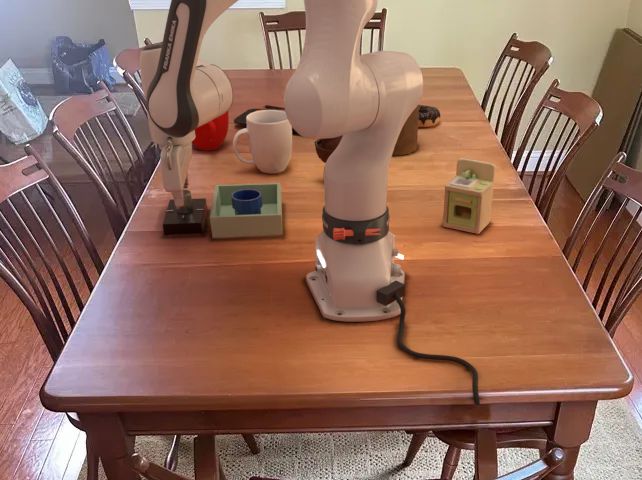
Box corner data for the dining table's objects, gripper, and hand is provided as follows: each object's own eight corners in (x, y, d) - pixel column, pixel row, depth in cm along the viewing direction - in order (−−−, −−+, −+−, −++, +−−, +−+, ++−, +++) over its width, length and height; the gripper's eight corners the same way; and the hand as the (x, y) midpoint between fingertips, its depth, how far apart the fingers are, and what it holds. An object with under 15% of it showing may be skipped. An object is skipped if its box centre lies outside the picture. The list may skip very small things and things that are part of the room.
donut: (438, 116, 213) (439, 103, 210) (441, 129, 204) (442, 115, 201) (401, 116, 213) (402, 103, 211) (403, 129, 204) (404, 115, 201)
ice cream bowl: (355, 192, 167) (355, 127, 158) (310, 188, 169) (307, 124, 160) (363, 175, 175) (364, 113, 166) (320, 172, 177) (318, 111, 168)
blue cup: (263, 224, 152) (261, 200, 148) (233, 225, 151) (230, 201, 148) (263, 212, 157) (261, 188, 153) (234, 213, 156) (232, 189, 153)
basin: (282, 237, 148) (281, 214, 145) (212, 240, 147) (209, 217, 144) (281, 204, 162) (280, 182, 159) (218, 206, 161) (215, 184, 158)
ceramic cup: (192, 162, 183) (187, 122, 177) (179, 142, 195) (174, 104, 189) (241, 155, 187) (237, 116, 181) (225, 136, 199) (221, 99, 193)
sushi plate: (230, 128, 205) (229, 114, 202) (271, 100, 227) (270, 87, 225) (324, 138, 197) (323, 124, 195) (356, 108, 220) (356, 95, 217)
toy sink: (440, 227, 152) (445, 167, 144) (453, 215, 157) (458, 156, 149) (477, 236, 148) (484, 175, 140) (489, 223, 153) (497, 163, 145)
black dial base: (203, 236, 149) (201, 222, 147) (164, 237, 148) (162, 223, 146) (207, 210, 159) (205, 197, 157) (171, 212, 158) (169, 198, 156)
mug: (239, 181, 173) (234, 126, 165) (232, 165, 181) (226, 113, 173) (298, 174, 176) (296, 120, 168) (288, 159, 184) (285, 107, 176)
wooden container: (406, 136, 199) (410, 51, 185) (424, 153, 188) (430, 65, 174) (356, 140, 196) (356, 55, 182) (371, 158, 185) (372, 69, 171)
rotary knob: (194, 206, 153) (191, 187, 150) (192, 213, 150) (189, 194, 148) (177, 207, 153) (174, 188, 150) (175, 214, 150) (172, 194, 147)
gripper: (182, 147, 133) (192, 216, 142) (193, 114, 149) (201, 177, 158) (149, 148, 133) (161, 217, 142) (162, 114, 149) (172, 178, 157)
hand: (182, 195), depth 150 cm, fingers open, 8 cm apart
